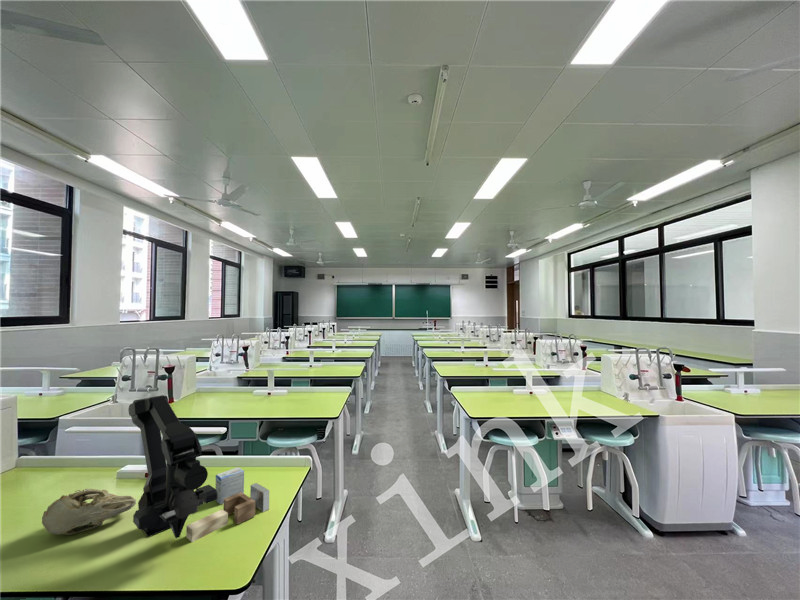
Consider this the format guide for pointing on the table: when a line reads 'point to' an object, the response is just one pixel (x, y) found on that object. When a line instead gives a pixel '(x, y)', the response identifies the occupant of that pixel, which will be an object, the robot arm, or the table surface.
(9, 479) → the table surface
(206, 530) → the block
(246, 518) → the cradle
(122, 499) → the skull
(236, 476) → the medicine box
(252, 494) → the wall
